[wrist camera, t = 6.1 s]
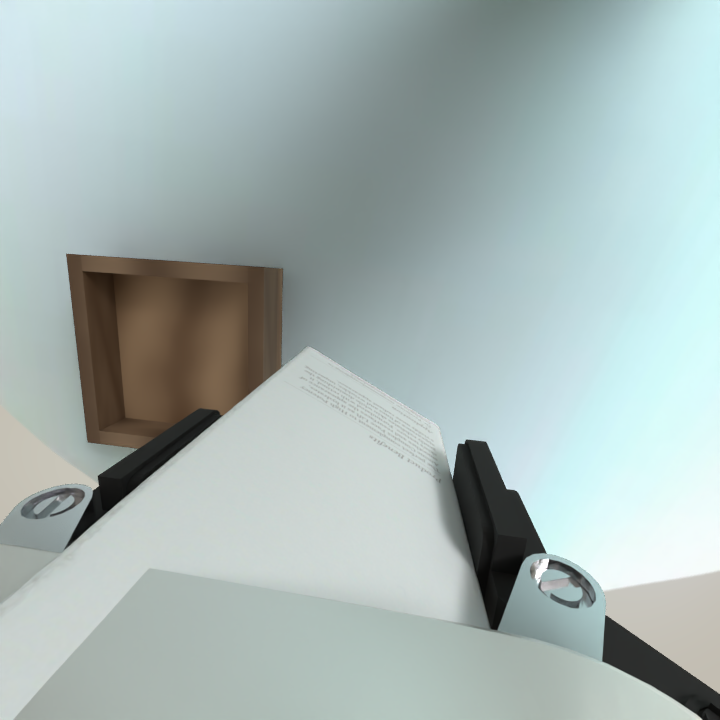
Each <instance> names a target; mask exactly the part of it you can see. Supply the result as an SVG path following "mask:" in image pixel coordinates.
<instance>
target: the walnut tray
mask: <svg viewBox="0 0 720 720" xmlns="http://www.w3.org/2000/svg"><path fill="white" fill-rule="evenodd" d="M66 256H67V265H68V273H69V282H70V291H71V300H72V309H73V317H74V326H75V335H76V344H77V353H78V361H79V370H80V379H81V388H82V397H83V405H84V414H85V423H86V432H87V440H88V442H90V443H98V444H106V445H114V446H122V447H130V448H138V449H139V448H140V447H142V446H143V445H145V444H146V443H148V442H149V441H151V440H152V439H154V438H155V437H157V436H158V435H160V434H161V433H163V432H164V431H166V430H167V429H169V428H170V427H172V426H173V425H175V424H176V423H178V422H179V421H181V420H182V419H184V418H185V417H187V416H188V415H190V414H191V413H193V412H194V411H196V410H197V409H199V408H203V409H211V410H218V411H219V412H220V415H224V414H226V413H227V412H228V411H229V410H231V409H232V408H233V407H234V406H235V405H236V404H238V403H239V402H240V401H242V400H243V399H244V398H245V397H246V396H248V395H249V394H250V393H251V392H253V391H254V390H255V389H256V388H257V387H259V386H260V385H261V384H262V383H263V382H265V381H266V380H267V379H268V378H269V377H271V376H272V375H273V374H275V373H276V372H277V371H278V370H279V369H280V368H281V344H282V287H283V269H280V268H266V267H252V266H237V265H223V264H208V263H193V262H179V261H164V260H150V259H135V258H120V257H106V256H91V255H76V254H66Z"/></svg>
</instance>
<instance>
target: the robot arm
mask: <svg viewBox="0 0 720 720" xmlns="http://www.w3.org/2000/svg"><path fill="white" fill-rule="evenodd" d="M222 416H223V415H220V412H219V411H218V410H211V409H203V408H199V409H197V410H196V411H194V412H193V413H191V414H190V415H188V416H187V417H185V418H184V419H182V420H181V421H179V422H178V423H176V424H175V425H173V426H172V427H170V428H169V429H167V430H166V431H164V432H163V433H161V434H160V435H158V436H157V437H155V438H154V439H152V440H151V441H149V442H148V443H146V444H145V445H143V446H142V447H140V448H139V449H137V450H136V451H134V452H133V453H131V454H130V455H128V456H127V457H125V458H124V459H122V460H121V461H119V462H118V463H116V464H115V465H113V466H112V467H111V468H109V469H108V470H106V471H105V472H103V473H102V474H100V475H99V476H98V481H99V487H97V488H96V489H95V490H93V491H92V489H91V488H90V487H88V486H86V485H81V484H65V485H60V486H55V487H51V488H48V489H45V490H42V491H40V492H37V493H35V494H33V495H31V496H29V497H28V498H26V499H24V500H23V501H21V502H20V503H19V504H18V505H17V506H15V507H14V509H13V510H12V511H11V512H10V513H9V515H8V516H7V517H6V518H5V519H4V521H3V522H2V523H1V524H0V603H1V602H2V601H3V600H4V599H6V598H7V597H8V596H10V595H11V594H12V593H13V592H15V591H16V590H17V589H18V588H20V587H21V586H22V585H23V584H25V583H26V582H27V581H28V580H29V579H31V578H32V577H33V576H34V575H36V574H37V573H38V572H39V571H40V570H42V569H43V568H44V567H45V566H46V565H47V564H49V563H50V562H51V561H52V560H53V559H54V558H56V557H57V556H58V555H59V554H60V553H62V552H63V551H64V550H65V549H66V548H68V547H69V546H70V545H71V544H72V543H73V542H74V541H76V540H77V539H78V538H79V537H80V536H81V535H82V534H83V533H84V532H85V531H86V530H88V529H89V528H90V527H91V526H92V525H93V524H94V523H96V522H97V521H98V520H99V519H100V518H101V517H103V516H104V515H105V514H106V513H107V512H108V511H109V510H111V509H112V508H113V507H114V506H115V505H116V504H118V503H119V502H120V501H121V500H122V499H124V498H125V497H126V496H127V495H129V494H130V493H131V492H132V491H133V490H134V489H136V488H137V487H138V486H139V485H140V484H141V483H142V482H143V481H145V480H146V479H147V478H148V477H150V476H151V475H152V474H153V473H154V472H156V471H157V470H158V469H159V468H160V467H162V466H163V465H164V464H165V463H166V462H168V461H169V460H170V459H171V458H172V457H174V456H175V455H176V454H177V453H178V452H180V451H181V450H182V449H183V448H184V447H186V446H187V445H188V444H189V443H191V442H192V441H193V440H194V439H195V438H197V437H198V436H199V435H200V434H201V433H202V432H204V431H205V430H206V429H207V428H209V427H210V426H211V425H212V424H213V423H215V422H216V421H217V420H218V419H219V418H221V417H222ZM453 483H454V488H455V491H456V495H457V499H458V503H459V507H460V511H461V514H462V518H463V523H464V527H465V531H466V535H467V539H468V543H469V547H470V551H471V556H472V560H473V564H474V568H475V572H476V577H477V578H478V581H479V585H480V589H481V593H482V597H483V601H484V605H485V609H486V613H487V617H488V621H489V625H490V628H491V629H487V628H483V627H478V626H473V625H469V624H464V623H458V622H453V621H447V620H442V619H436V618H431V617H425V616H419V615H414V614H408V613H403V612H397V611H392V610H386V609H381V608H375V607H370V606H364V605H358V604H353V603H347V602H342V601H336V600H331V599H325V598H319V597H313V596H308V595H302V594H296V593H290V592H285V591H279V590H273V589H267V588H262V587H256V586H250V585H245V584H239V583H233V582H227V581H222V580H216V579H210V578H204V577H199V576H193V575H187V574H181V573H175V572H170V571H164V570H158V569H152V568H149V569H148V570H147V571H146V572H145V573H144V574H143V575H142V576H141V578H140V579H139V580H138V581H137V582H136V583H135V584H134V585H133V586H132V588H131V589H130V590H129V591H128V592H127V593H126V594H125V595H124V597H123V598H122V599H121V600H120V601H119V602H118V603H117V604H116V606H115V607H114V608H113V609H112V610H111V611H110V612H109V613H108V615H107V616H106V617H105V618H104V619H103V620H102V621H101V622H100V623H99V625H98V626H97V627H96V628H95V629H94V630H93V631H92V632H91V633H90V635H89V636H88V637H87V638H86V639H85V640H84V641H83V642H82V643H81V644H80V646H79V647H78V648H77V649H76V650H75V651H74V652H73V653H72V654H71V655H70V656H69V658H68V659H67V660H66V661H65V662H64V663H63V664H62V665H61V666H60V667H59V669H58V670H57V671H56V672H55V673H54V674H53V675H52V676H51V677H50V678H49V679H48V681H47V682H46V683H45V684H44V685H43V686H42V687H41V688H40V690H39V691H38V692H37V693H36V694H35V695H34V696H33V698H32V699H31V700H30V701H29V702H28V703H27V704H26V705H25V707H24V708H23V709H22V710H21V711H20V712H19V713H18V715H17V716H16V717H15V718H14V719H13V720H720V694H718V693H717V692H716V691H714V690H713V689H711V688H710V687H708V686H707V685H706V684H704V683H703V682H701V681H700V680H699V679H697V678H696V677H694V676H693V675H691V674H690V673H688V672H687V671H686V670H684V669H682V668H681V667H680V666H678V665H677V664H675V663H674V662H673V661H671V660H670V659H668V658H667V657H665V656H664V655H662V654H661V653H659V652H658V651H657V650H655V649H654V648H652V647H651V646H650V645H648V644H647V643H645V642H644V641H642V640H641V639H639V638H638V637H637V636H635V635H634V634H632V633H631V632H629V631H628V630H626V629H625V628H624V627H622V626H621V625H619V624H618V623H616V622H615V621H613V620H612V619H611V618H609V617H608V616H606V615H605V609H606V601H605V595H604V593H603V591H602V589H601V587H600V586H599V584H598V583H597V582H596V581H595V579H594V578H593V577H592V576H591V575H590V574H589V573H587V572H586V571H585V570H583V569H582V568H581V567H580V566H578V565H576V564H574V563H572V562H571V561H569V560H567V559H564V558H561V557H559V556H556V555H551V554H547V553H546V551H545V549H544V547H543V545H542V542H541V540H540V538H539V536H538V534H537V532H536V530H535V528H534V525H533V523H532V521H531V519H530V517H529V515H528V513H527V511H526V509H525V506H524V504H523V502H522V500H521V498H520V496H519V494H518V492H517V491H515V490H508V489H506V487H505V485H504V482H503V480H502V478H501V475H500V473H499V471H498V468H497V466H496V464H495V461H494V459H493V457H492V454H491V452H490V449H489V447H488V445H487V443H486V442H483V441H475V440H466V441H465V444H458V448H457V454H456V461H455V468H454V475H453Z"/></svg>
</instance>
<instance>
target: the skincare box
mask: <svg viewBox="0 0 720 720" xmlns="http://www.w3.org/2000/svg"><path fill="white" fill-rule="evenodd" d="M149 568H152V569H158V570H164V571H170V572H175V573H181V574H187V575H193V576H199V577H204V578H210V579H216V580H222V581H227V582H233V583H239V584H245V585H250V586H256V587H262V588H267V589H273V590H279V591H285V592H290V593H296V594H302V595H308V596H313V597H319V598H325V599H331V600H336V601H342V602H347V603H353V604H358V605H364V606H370V607H375V608H381V609H386V610H392V611H397V612H403V613H408V614H414V615H419V616H425V617H431V618H436V619H442V620H447V621H453V622H458V623H464V624H469V625H473V626H478V627H483V628H487V629H491V628H490V625H489V621H488V617H487V613H486V609H485V605H484V601H483V597H482V593H481V589H480V585H479V581H478V578H477V577H476V572H475V568H474V564H473V560H472V556H471V551H470V547H469V543H468V539H467V535H466V531H465V527H464V523H463V518H462V514H461V511H460V507H459V503H458V499H457V495H456V491H455V488H454V483H453V479H452V476H451V472H450V468H449V464H448V460H447V456H446V452H445V448H444V444H443V440H442V436H441V432H440V428H439V426H438V425H436V424H435V423H433V422H432V421H430V420H428V419H427V418H425V417H423V416H422V415H420V414H418V413H417V412H415V411H414V410H412V409H410V408H409V407H407V406H406V405H404V404H402V403H401V402H399V401H397V400H396V399H394V398H393V397H391V396H389V395H388V394H386V393H385V392H383V391H381V390H380V389H378V388H377V387H375V386H373V385H372V384H370V383H368V382H367V381H365V380H363V379H362V378H360V377H359V376H357V375H355V374H354V373H352V372H350V371H349V370H347V369H346V368H344V367H342V366H341V365H339V364H338V363H336V362H334V361H333V360H331V359H330V358H328V357H326V356H325V355H323V354H322V353H320V352H318V351H317V350H315V349H313V348H311V347H305V349H304V350H302V351H301V352H300V353H299V354H298V355H296V356H295V357H294V358H293V359H292V360H290V361H289V362H288V363H287V364H285V365H284V366H283V367H282V368H280V369H279V370H278V371H277V372H276V373H275V374H273V375H272V376H271V377H269V378H268V379H267V380H266V381H265V382H263V383H262V384H261V385H260V386H259V387H257V388H256V389H255V390H254V391H253V392H251V393H250V394H249V395H248V396H246V397H245V398H244V399H243V400H242V401H240V402H239V403H238V404H236V405H235V406H234V407H233V408H232V409H231V410H229V411H228V412H227V413H226V414H224V415H223V416H222V417H221V418H219V419H218V420H217V421H216V422H215V423H213V424H212V425H211V426H210V427H209V428H207V429H206V430H205V431H204V432H202V433H201V434H200V435H199V436H198V437H197V438H195V439H194V440H193V441H192V442H191V443H189V444H188V445H187V446H186V447H184V448H183V449H182V450H181V451H180V452H178V453H177V454H176V455H175V456H174V457H172V458H171V459H170V460H169V461H168V462H166V463H165V464H164V465H163V466H162V467H160V468H159V469H158V470H157V471H156V472H154V473H153V474H152V475H151V476H150V477H148V478H147V479H146V480H145V481H143V482H142V483H141V484H140V485H139V486H138V487H137V488H136V489H134V490H133V491H132V492H131V493H130V494H129V495H127V496H126V497H125V498H124V499H122V500H121V501H120V502H119V503H118V504H116V505H115V506H114V507H113V508H112V509H111V510H109V511H108V512H107V513H106V514H105V515H104V516H103V517H101V518H100V519H99V520H98V521H97V522H96V523H94V524H93V525H92V526H91V527H90V528H89V529H88V530H86V531H85V532H84V533H83V534H82V535H81V536H80V537H79V538H78V539H77V540H76V541H74V542H73V543H72V544H71V545H70V546H69V547H68V548H66V549H65V550H64V551H63V552H62V553H60V554H59V555H58V556H57V557H56V558H54V559H53V560H52V561H51V562H50V563H49V564H47V565H46V566H45V567H44V568H43V569H42V570H40V571H39V572H38V573H37V574H36V575H34V576H33V577H32V578H31V579H29V580H28V581H27V582H26V583H25V584H23V585H22V586H21V587H20V588H18V589H17V590H16V591H15V592H13V593H12V594H11V595H10V596H8V597H7V598H6V599H4V600H3V601H2V602H1V603H0V720H13V719H14V718H15V717H16V716H17V715H18V713H19V712H20V711H21V710H22V709H23V708H24V707H25V705H26V704H27V703H28V702H29V701H30V700H31V699H32V698H33V696H34V695H35V694H36V693H37V692H38V691H39V690H40V688H41V687H42V686H43V685H44V684H45V683H46V682H47V681H48V679H49V678H50V677H51V676H52V675H53V674H54V673H55V672H56V671H57V670H58V669H59V667H60V666H61V665H62V664H63V663H64V662H65V661H66V660H67V659H68V658H69V656H70V655H71V654H72V653H73V652H74V651H75V650H76V649H77V648H78V647H79V646H80V644H81V643H82V642H83V641H84V640H85V639H86V638H87V637H88V636H89V635H90V633H91V632H92V631H93V630H94V629H95V628H96V627H97V626H98V625H99V623H100V622H101V621H102V620H103V619H104V618H105V617H106V616H107V615H108V613H109V612H110V611H111V610H112V609H113V608H114V607H115V606H116V604H117V603H118V602H119V601H120V600H121V599H122V598H123V597H124V595H125V594H126V593H127V592H128V591H129V590H130V589H131V588H132V586H133V585H134V584H135V583H136V582H137V581H138V580H139V579H140V578H141V576H142V575H143V574H144V573H145V572H146V571H147V570H148V569H149Z"/></svg>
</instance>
